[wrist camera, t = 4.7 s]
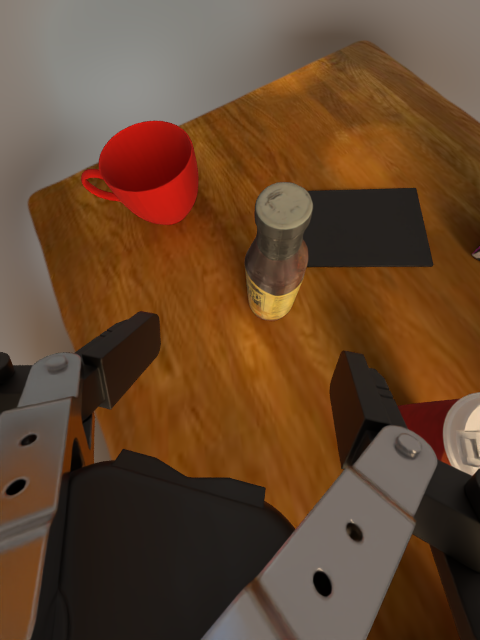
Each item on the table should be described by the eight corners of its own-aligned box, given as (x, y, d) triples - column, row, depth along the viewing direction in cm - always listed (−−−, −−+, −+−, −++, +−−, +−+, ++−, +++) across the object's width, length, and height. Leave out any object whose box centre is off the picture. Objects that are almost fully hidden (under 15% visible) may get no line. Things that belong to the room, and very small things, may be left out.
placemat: (414, 189, 41) (416, 187, 40) (431, 266, 36) (433, 265, 36) (288, 193, 42) (289, 191, 42) (290, 267, 38) (291, 265, 38)
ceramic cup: (112, 189, 46) (74, 132, 36) (205, 174, 45) (190, 113, 36) (109, 250, 41) (64, 204, 32) (210, 234, 41) (195, 184, 31)
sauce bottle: (246, 286, 38) (233, 168, 19) (288, 281, 37) (318, 156, 18) (251, 328, 35) (241, 243, 17) (295, 323, 35) (337, 231, 16)
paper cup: (375, 464, 29) (471, 515, 16) (367, 395, 32) (445, 389, 18) (447, 469, 28) (610, 525, 15) (434, 397, 31) (564, 393, 18)
